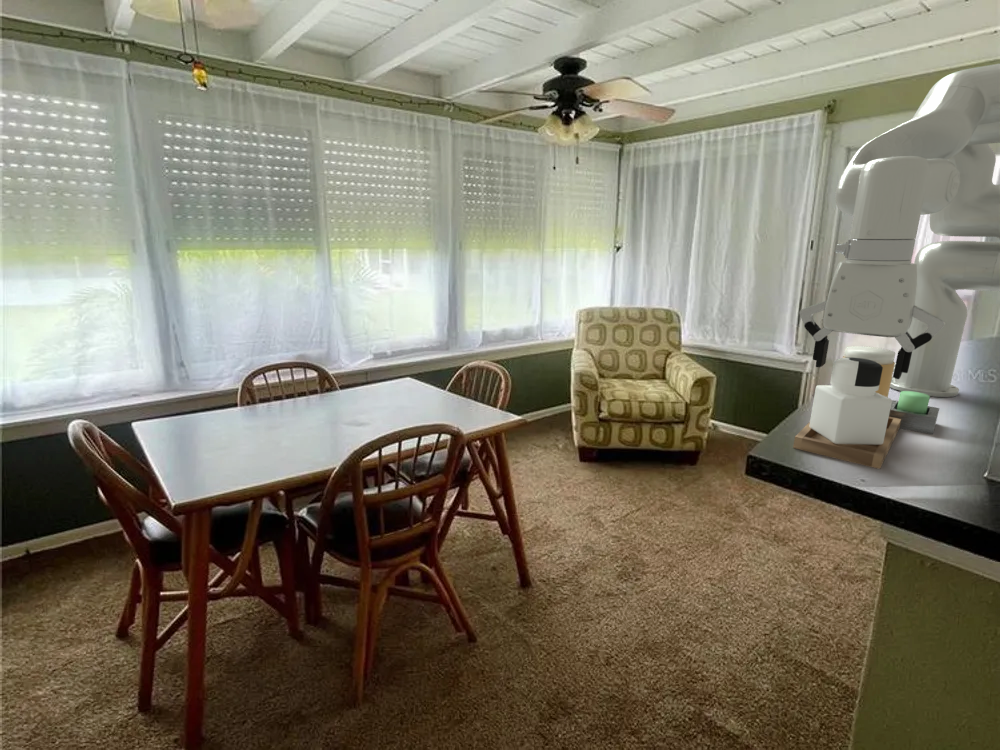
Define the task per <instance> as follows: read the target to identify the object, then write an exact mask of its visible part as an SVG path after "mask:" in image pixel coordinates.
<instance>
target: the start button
mask: <svg viewBox="0 0 1000 750" xmlns="http://www.w3.org/2000/svg"><path fill="white" fill-rule="evenodd" d="M930 399H931V396H929V395H927V394H923V393H919V392H913V391H900V392H899V397H898V400H897V401H898V406H897V409H899V410H904V411H910V412H915V413H921V414H926V412H927V407H928V406H929V403H930Z"/></svg>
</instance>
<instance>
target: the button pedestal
mask: <svg viewBox="0 0 1000 750" xmlns="http://www.w3.org/2000/svg"><path fill="white" fill-rule="evenodd" d="M891 400H892V404H891V408H890V413H889V417H893V418H898V419H901V423H900V427H899V429H902V430H908V431H912V432H913V431H914V432H917V433H923V434H928V435H934V431H935V427H936V424H937V420H938V416H939V411H940V407H935V406H929V405H928V407H927V412H926V414H921V413H915V412H910V411H904V410H899V409H897V406H898V401H899V400H894V399H891Z"/></svg>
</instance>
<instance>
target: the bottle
mask: <svg viewBox="0 0 1000 750" xmlns="http://www.w3.org/2000/svg"><path fill="white" fill-rule="evenodd" d="M895 356H896V352H895V351H893V350H891V349H885V348H882V347H873V346H863V345H853V346H852V345H851V346H847V347H845V350H844V356H842V358H846V357H852V358H863V359H868V360H872V361H875V362H877V363H879V364H880V365H881V366H882V367H883V369H882V374H881V379H880V384H879V389H878V391H875V392H876V393H879V394H881V395H883V396H885V397H888V398H889V392H890V389H891V387H890V384H891V380H892V377H893V373H894V372H893V370H894V365H895V363H896V361H895Z"/></svg>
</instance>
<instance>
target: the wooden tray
mask: <svg viewBox="0 0 1000 750" xmlns="http://www.w3.org/2000/svg"><path fill="white" fill-rule="evenodd" d="M900 423H901V419H898V418H893V417H889V418H888V423H887V427H886V432H885V437H884V442H883V444H882V445H859V444H834V443H832V442H831V441H829V440H828V439H826V438H825V437H823V436H822V435H820V434H819V433H817V432H816V431H814V430H813V429H811V428H810V427H809V425H810V421H809V422H808V423H807V424H806V425H805V426H804V427H802V429H801V430H800V431H799V432H798V433H797V434H796V435H795V436H794V441H793V446H792V448H793V449H796V450H800V451H801V450H802V451H803V452H804V451H805V452H809V453H813V454H817V455H820V456H821V455H822V456H823V457H824V456H825V457H829V458H832V459H838V460H842V461H845V462H849V463H854V464H858V465H862V466H866V467H870V468H874V469H879V470H881V468H882V466H883V464H884V461H885V459H886V458H887V456H888V453H889V451H890V450H891V447H892V445H893V442H894V441H895V438H896V436H897V435H898V433H899V430H900V428H899V427H900Z"/></svg>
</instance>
